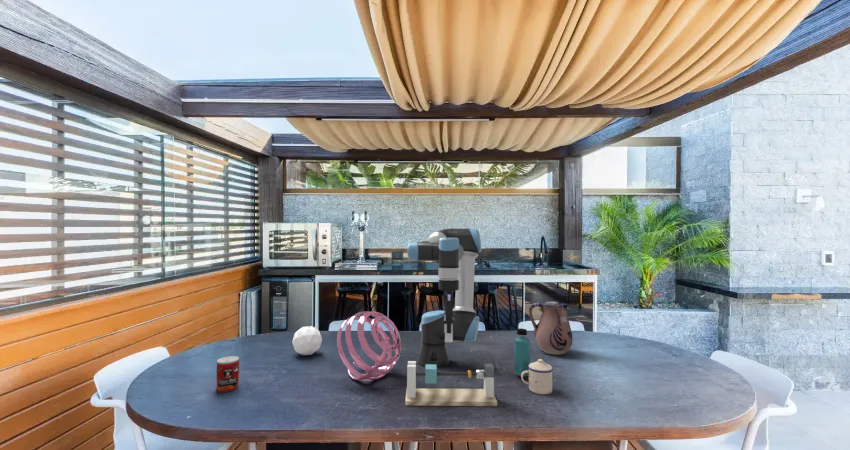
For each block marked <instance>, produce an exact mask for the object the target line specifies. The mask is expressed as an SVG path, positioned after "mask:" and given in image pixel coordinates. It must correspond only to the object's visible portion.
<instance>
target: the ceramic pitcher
mask: <svg viewBox="0 0 850 450" xmlns="http://www.w3.org/2000/svg"><path fill="white" fill-rule="evenodd" d="M537 307H538V308H539V309H540V311H541V315H540V318H539V321H538V323H536V321H535V320H534V317H533V312H532V311H533V309H534V308H537ZM528 316H529V319H530V321H531V324H532V326H533V334H534V337H535V340H536V343H537V346H538V347H539V349H540V350H541V351H542V352H544V353H546V354H548V355H552V356H561V355H565V354H566V353H568V351H569V350H570V349H571V347H572V345H573V334H572V328H571V323H570V320H569V317H568V316H569V315H568V304H567V303H565V302H564V303H563V302H562V303H559V302H558V301H542V302H535V303H532V304H530V306H529V308H528Z"/></svg>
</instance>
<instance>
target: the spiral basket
mask: <svg viewBox="0 0 850 450" xmlns="http://www.w3.org/2000/svg"><path fill="white" fill-rule="evenodd" d="M370 316H371V317H374V318H373V319H372V318H370ZM355 320H358V323H357V326H356V329H357V337H358V338H357V339H358V340H359V344H360V345H361V348H362V349H363V352H364V353H365V354H366V355H367V356H368V357H369V358H370V360H373V361H374V362H375V364H374V365H373V366H370V365H368V364H367V363H366V362H365V361H364V360H363V359H362V358H361V357H360V355H359V354H358V352H357V350H356V349H355V346H354V344H353V340H352V339H353V338H352V325H353V323H354V321H355ZM365 322H366V323H368V324H369V325H370V331H371V332H370V333H371V336H372V338H373V340H374V342H375V344H376V345H378V346H379V347H380V348H381V349H382V353H381V354H380V355H379V354H377V353H376V352H375V351H374V350H373V349H372V348H371V346H370V345H369V343H368V341H367V338H366V335H365V329H364V328H365ZM380 322H381V323H382V324H383V325H384V326H385V327H386V329H387V330H388V332H389V334H390V336H391V338H392V341H393V343H392V344H391V342H390V337H388V335H387V334H386V332H385V330H384V329H383V328H382V326H381V325H380V324H379V323H380ZM346 323H347V324H346ZM345 325H346V327H345ZM391 326H392V327H391ZM344 327H345V333H344V335H345V344H346V346H347V350H348V351H349V354H350V356H351V358H352V359H353V361H354V362H352V364H353V365H354V366H355V367H358V368H360V369H362V370H364V371H365V372H366V373H365V374H363V373H360V372H359V371H358V370H356V368H354V366H352V365H351V363H350V361H349V360H348V359H347V357H346V355H345V353H344V350H343V346H342V345H343V344H342V333H343V328H344ZM393 329H394V330H393ZM401 340H402V339H401V335H400V333H399V330H398V328H397V326H396V325H395V323H394V322H393V321H392V320H391V319H390V318H389V317H387V316H386V315H384V314H383V313H381V312H378V311H360V312H357V313H355V314H354V315H352V316H349V317H347V319H345V320H344V321H343V322H342V323H341V324H340V327H339V329H338V331H337V337H336V344H337V345H336V347H337V350H338V354H339V356H340V357H339V358H340V360H341V361H342V363H343V365H344V366H345V367H346V370H347V373H348V375H349V377H350V378H351V379H353V380H354V381H371V382H373V381H377V380H379V379H381V378H383V377H384V376H386V374H388V373H389V372H390V371H392V370H393V368H395V366H396V364H397V362H398V360H399V358H400V355H401V353H402V352H401V351H402V341H401ZM394 351H395V355H394V356H393V352H394ZM386 354H387V357H386ZM374 376H375V377H374Z"/></svg>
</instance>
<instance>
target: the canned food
mask: <svg viewBox="0 0 850 450" xmlns="http://www.w3.org/2000/svg"><path fill="white" fill-rule="evenodd" d="M239 376H240V357H239V356H235V355H230V356H223V357H219V358H218V359H217V360H216V377H215V378H216V383H215V384H216V385H215V389H216V390H217V392H220V393H225V392H231V391H234V390H237V388H238V387H239V384H240V383H239V382H240V381H239V380H240V379H239V378H240V377H239Z"/></svg>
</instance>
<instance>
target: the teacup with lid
mask: <svg viewBox="0 0 850 450" xmlns="http://www.w3.org/2000/svg"><path fill="white" fill-rule="evenodd" d="M528 368H529V371H523V372H522V373H521V376H520V377H521V380H522V382H523V383H524V384H526V385H528V390H529V391H530V392H532V393H534V394H537V395H549V394H552V392H553V370H554V367H553V366H552V365H550V364H548V363H547V362H545V361H544V360H543V359H542V358H539V359H537V360H536V361H535V362H530V364H529V366H528ZM525 373H529V375H528V381H526V380H525V379H524V376H523V375H524V374H525Z"/></svg>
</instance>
